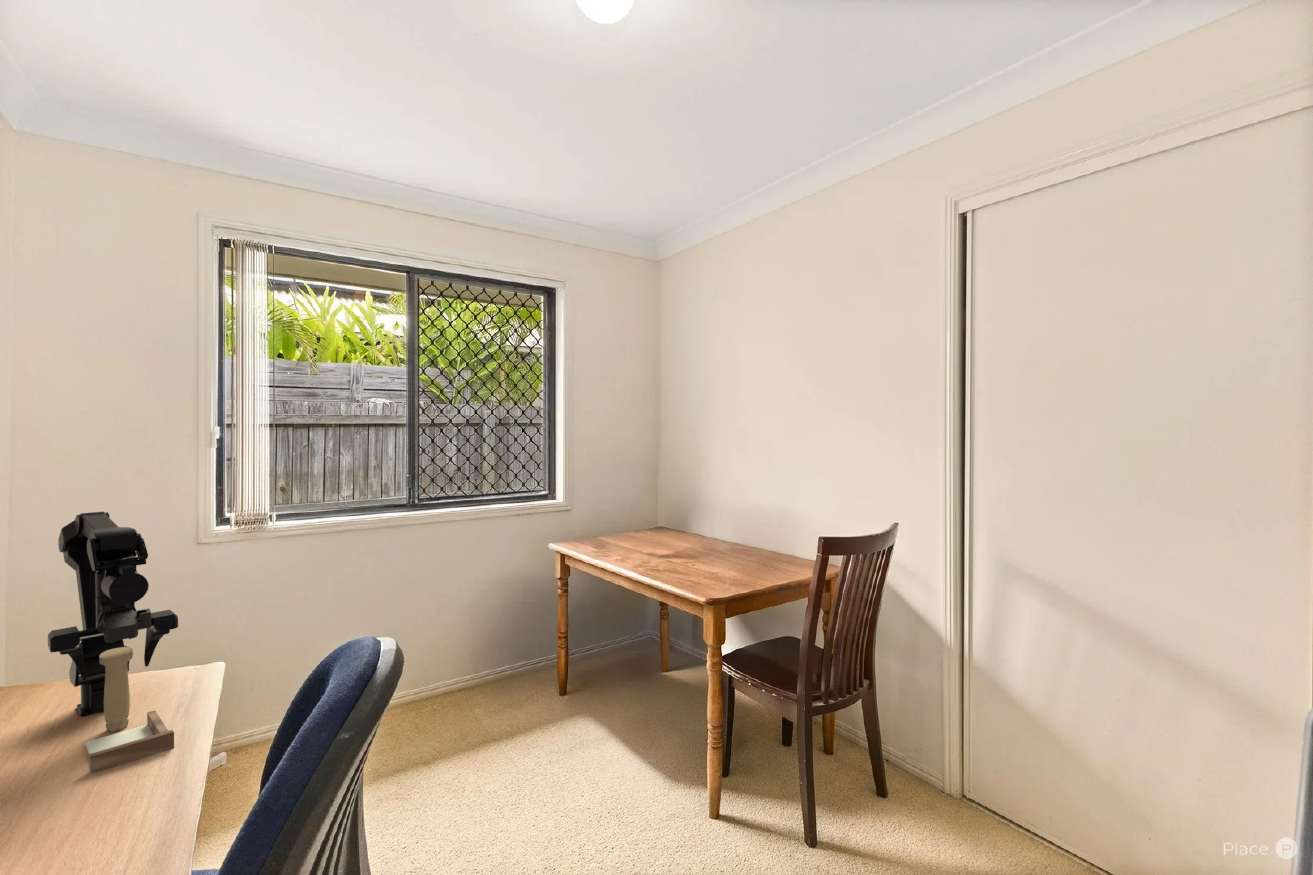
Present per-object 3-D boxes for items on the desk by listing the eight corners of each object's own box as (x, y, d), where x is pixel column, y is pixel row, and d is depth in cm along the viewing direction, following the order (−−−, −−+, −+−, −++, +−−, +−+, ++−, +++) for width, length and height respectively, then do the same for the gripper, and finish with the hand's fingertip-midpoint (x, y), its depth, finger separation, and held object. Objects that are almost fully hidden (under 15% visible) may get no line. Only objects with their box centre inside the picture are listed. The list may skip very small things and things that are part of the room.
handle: (98, 738, 117) (97, 660, 116) (102, 725, 122) (101, 650, 122) (131, 731, 120) (130, 654, 119) (134, 718, 125) (133, 645, 124)
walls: (81, 746, 114) (80, 730, 114) (159, 724, 122) (158, 709, 122) (90, 773, 105) (90, 756, 105) (174, 747, 114) (174, 731, 114)
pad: (85, 745, 114) (85, 741, 114) (147, 727, 121) (147, 724, 121) (94, 769, 106) (94, 766, 106) (160, 749, 113) (160, 745, 113)
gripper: (52, 613, 108) (54, 701, 108) (184, 592, 122) (185, 670, 122) (46, 600, 115) (48, 683, 116) (171, 582, 129) (172, 655, 130)
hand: (116, 672), depth 121 cm, fingers open, 9 cm apart
